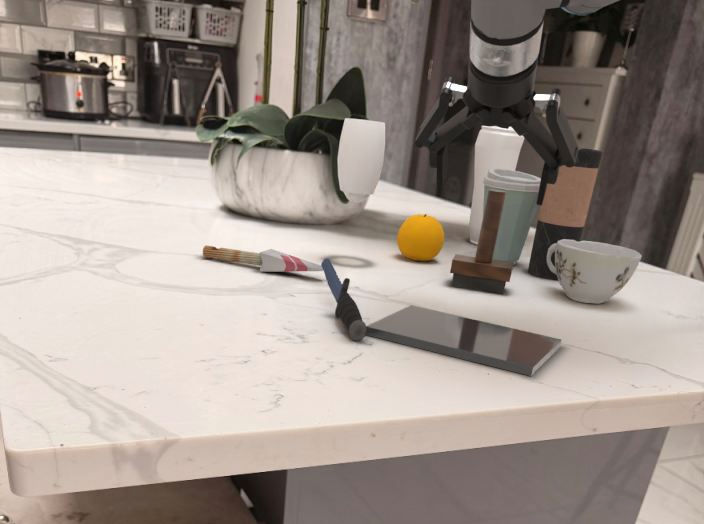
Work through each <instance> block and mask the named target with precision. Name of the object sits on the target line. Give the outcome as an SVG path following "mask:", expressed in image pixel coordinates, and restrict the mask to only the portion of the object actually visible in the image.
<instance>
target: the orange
mask: <svg viewBox="0 0 704 524" xmlns="http://www.w3.org/2000/svg"><path fill="white" fill-rule="evenodd" d="M396 237H397V238H396V241H397V242H396V244H397V248H398V250H399V252H400V253H401V254H402V255H403V256H404V257H405V258H407V259H409V260H412V261H419V262H428V261H430V260H431V261H432V260H433V259H435V258H437V256H438V255H439V254H440V252H441V250H442V249H443V246H444V242H445V232H444V228H443V226H442V224H441V222H440V221H439V220H438V219H437V218H436V217H434V216H432V215H428V214H427V213H425V214H420V213H419V214H412V215H411V216H409V217H408V218H406V220H405V221H403V223H402V224H401V226H400V227H399V229H398V232H397V236H396Z"/></svg>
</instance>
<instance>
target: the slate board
mask: <svg viewBox="0 0 704 524" xmlns="http://www.w3.org/2000/svg"><path fill="white" fill-rule="evenodd" d="M365 336H368V337H373V338H377V339H380V340H384V341H388V342H393V343H395V344H396V343H397V344H400V345H404V346H409V347H411V348H417V349H421V350H425V351H429V352H432V353H436V354H439V355H445V356H448V357H453V358H457V359H461V360H465V361H469V362H472V363H476V364H480V365H484V366H489V367H493V368H496V369H501V370H505V371H509V372H512V373H516V374H520V375H524V376H529V377H532V376H533V375H534V374H535V373H536V372H537V371H538V370H539V369H540V368H541V367H542V366H543V365H544V364H545V363H546V362H547V361H548V360H549V359H550V358H551V357H552V356H553V355H554V354H555V353H557V351H558V350H559V349H560V348H561V345H562V341H563V339H561V338H557V337H552V336H548V335H544V334H540V333H535V332H531V331H527V330H523V329H518V328H513V327H509V326H504V325H499V324H495V323H491V322H487V321H482V320H478V319H473V318H469V317H464V316H460V315H456V314H452V313H447V312H443V311H439V310H436V309H435V310H434V309H430V308H426V307H422V306H417V305H412V304H411V305H408V306H407V307H404V308H402V309H400V310H397V311H395V312H393V313H392V314H389V315H387V316H385V317H383V318H381V319H379V320H377V321H374V322H372V323H370V324H367V325H366V333H365Z"/></svg>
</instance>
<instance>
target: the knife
mask: <svg viewBox="0 0 704 524" xmlns="http://www.w3.org/2000/svg"><path fill="white" fill-rule="evenodd" d="M320 265H321V266H322V268H323V271H322V272H323V273H324V277H325V279H326V282H327V286H328V287H329V289H330V292H331V293H332V296H333V297H334V300H335V302H336V307H335V310H334V316H335V317H336V318H339V320H340V321H341V322H342V325H344V327H345V328H346V330H347V331H348V336H349V337H350V339H351V340H352V341H354V342H355V341H357V342H358V341H361V340H363V339H364V337H365V336H366V335H365V333H366V326H367V325H366V323H365V321H363V318H362V314H361V313H360V310H359V307H358V305H357V302H356V301H355V300H354V299H353V297H352V296H351V295H350V293H348V290H349V286H350V282H351V279H350V278H348V277H346V278H344V279H343V282H342V281H341V280H340V277H339V275H338V273H337V271H336V269H335V267H334V265H333V263H332V262H331V260H330V259H329V258H327V257H326V258H324V259H323V261H322V262H321V264H320Z"/></svg>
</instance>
